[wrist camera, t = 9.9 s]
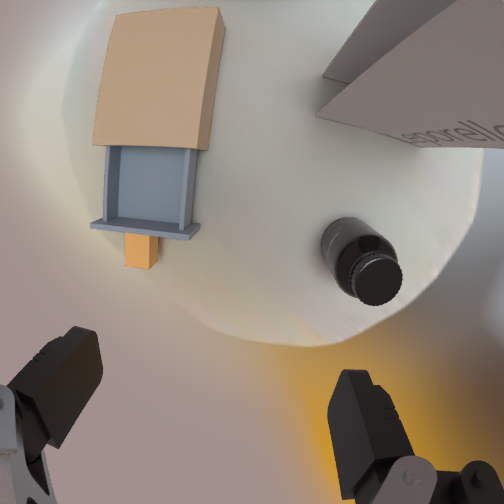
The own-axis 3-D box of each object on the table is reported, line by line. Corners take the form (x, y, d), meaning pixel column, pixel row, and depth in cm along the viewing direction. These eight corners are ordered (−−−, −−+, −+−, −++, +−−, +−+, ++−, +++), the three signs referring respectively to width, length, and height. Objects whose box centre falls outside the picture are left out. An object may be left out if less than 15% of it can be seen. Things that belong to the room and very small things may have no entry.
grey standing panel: (314, 116, 32) (486, -11, 3) (321, 74, 30) (456, -100, 2) (421, 147, 32) (638, 169, 3) (426, 108, 30) (630, 80, 2)
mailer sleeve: (135, 31, 29) (116, 15, 23) (225, 28, 29) (218, 7, 23) (116, 146, 34) (92, 145, 28) (207, 150, 34) (196, 148, 28)
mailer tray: (121, 96, 31) (100, 88, 26) (214, 96, 31) (205, 85, 26) (111, 248, 37) (91, 261, 32) (197, 260, 37) (186, 276, 32)
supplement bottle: (315, 223, 36) (337, 254, 24) (367, 211, 35) (410, 235, 23) (325, 275, 37) (348, 324, 26) (375, 263, 37) (414, 304, 25)
